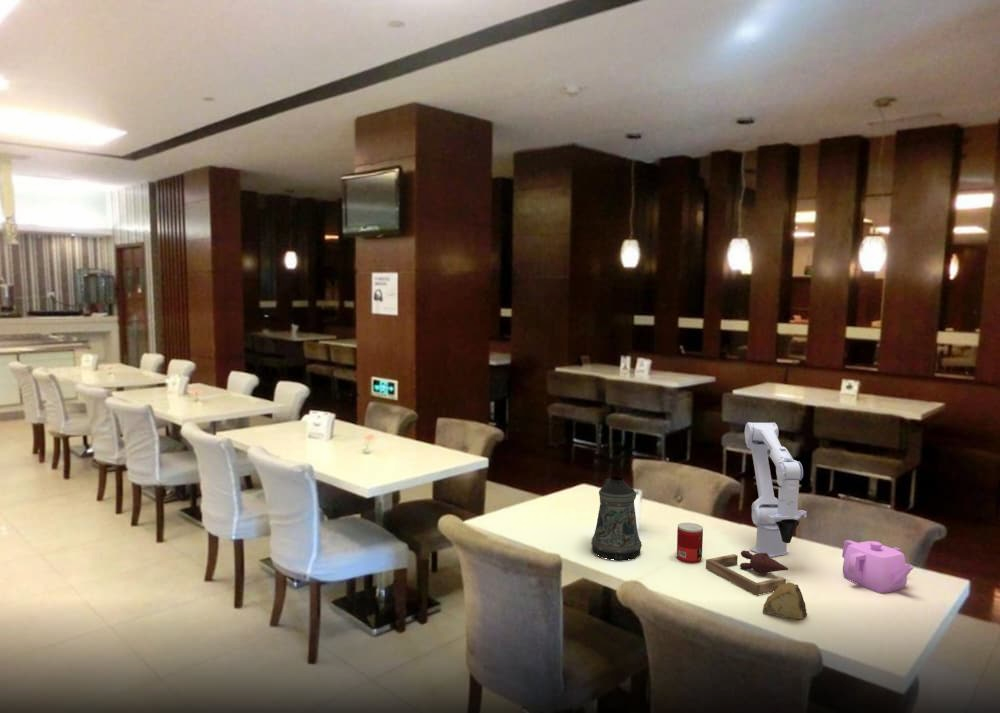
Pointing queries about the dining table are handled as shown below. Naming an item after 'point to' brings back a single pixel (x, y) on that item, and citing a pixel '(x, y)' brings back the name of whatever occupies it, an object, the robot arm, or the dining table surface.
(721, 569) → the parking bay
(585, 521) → the dining table surface
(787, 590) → the rock
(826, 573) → the dining table surface
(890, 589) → the teakettle
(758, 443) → the robot arm
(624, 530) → the beer stein
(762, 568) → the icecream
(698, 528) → the canned food
